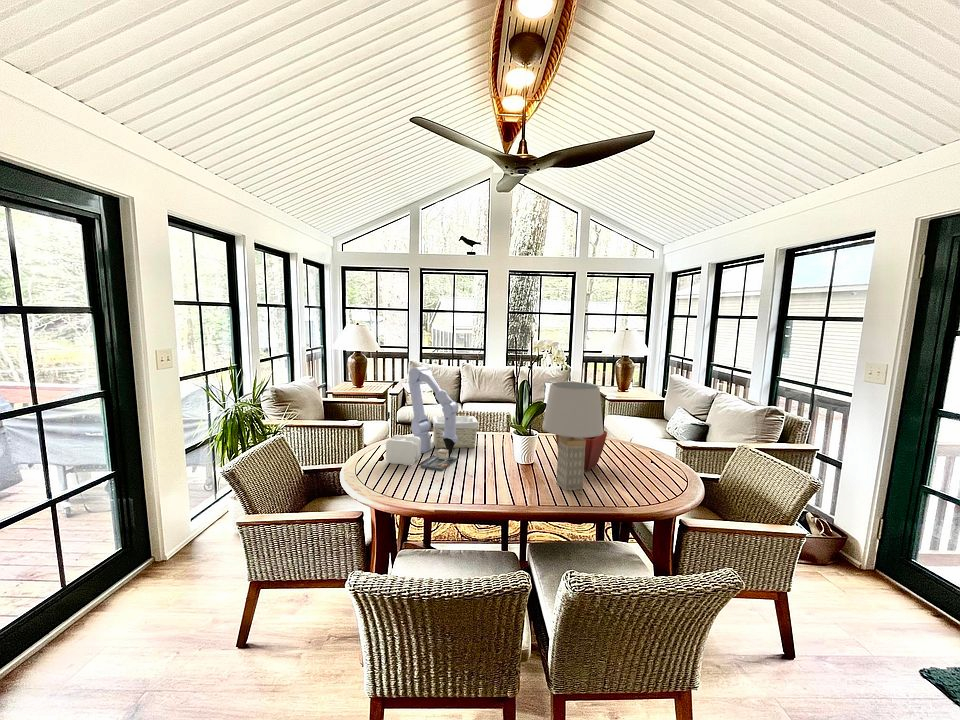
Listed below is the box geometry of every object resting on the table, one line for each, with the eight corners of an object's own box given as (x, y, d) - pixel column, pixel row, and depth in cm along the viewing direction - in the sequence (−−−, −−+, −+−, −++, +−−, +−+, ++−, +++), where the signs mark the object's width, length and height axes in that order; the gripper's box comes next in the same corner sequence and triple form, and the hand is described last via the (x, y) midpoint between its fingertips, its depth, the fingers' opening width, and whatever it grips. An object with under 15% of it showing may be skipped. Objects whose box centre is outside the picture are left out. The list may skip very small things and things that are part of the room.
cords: (433, 456, 219) (433, 454, 218) (436, 456, 218) (436, 455, 218) (418, 465, 205) (418, 463, 205) (421, 466, 204) (421, 464, 204)
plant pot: (590, 475, 198) (592, 439, 196) (552, 465, 210) (554, 431, 208) (606, 464, 213) (608, 431, 212) (570, 456, 225) (571, 424, 223)
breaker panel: (437, 456, 218) (437, 453, 218) (457, 460, 214) (457, 456, 214) (420, 467, 202) (420, 463, 202) (441, 471, 198) (442, 467, 198)
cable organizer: (383, 463, 206) (384, 439, 205) (392, 456, 216) (392, 433, 215) (414, 466, 203) (414, 442, 202) (421, 459, 213) (421, 436, 212)
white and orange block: (440, 456, 214) (441, 448, 213) (448, 457, 212) (448, 449, 212) (438, 458, 211) (438, 450, 210) (445, 459, 209) (445, 451, 209)
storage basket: (473, 440, 249) (473, 414, 248) (478, 448, 233) (479, 421, 232) (431, 441, 245) (431, 415, 243) (433, 450, 229) (434, 422, 227)
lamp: (555, 501, 169) (560, 391, 165) (530, 477, 193) (534, 380, 189) (611, 496, 176) (618, 389, 172) (581, 473, 200) (586, 380, 196)
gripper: (436, 423, 221) (436, 449, 222) (448, 430, 208) (448, 458, 210) (449, 422, 224) (448, 447, 226) (462, 429, 212) (461, 456, 213)
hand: (449, 452), depth 218 cm, fingers closed
